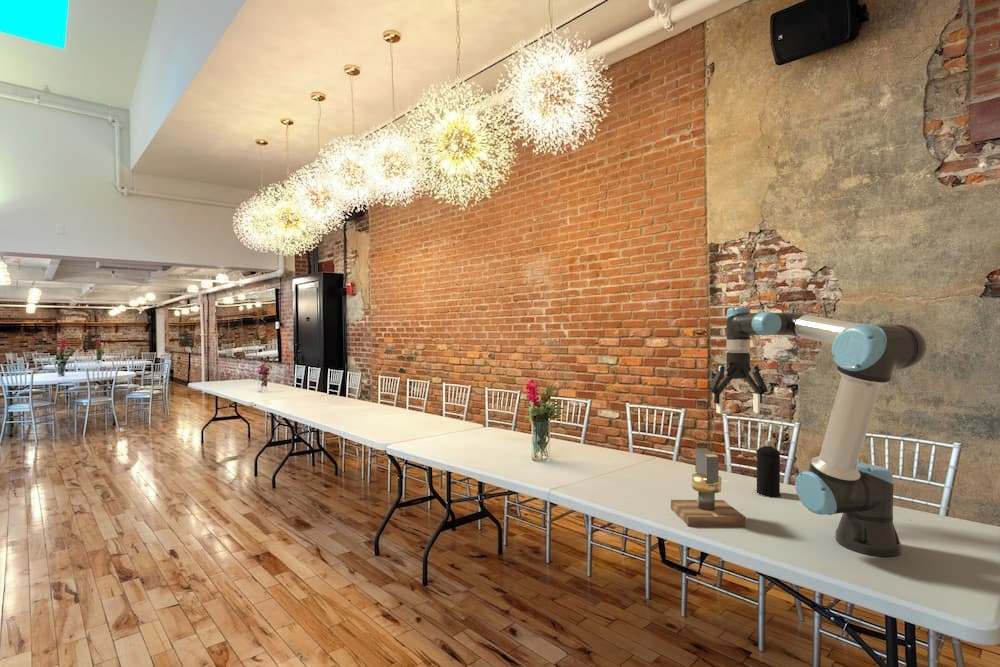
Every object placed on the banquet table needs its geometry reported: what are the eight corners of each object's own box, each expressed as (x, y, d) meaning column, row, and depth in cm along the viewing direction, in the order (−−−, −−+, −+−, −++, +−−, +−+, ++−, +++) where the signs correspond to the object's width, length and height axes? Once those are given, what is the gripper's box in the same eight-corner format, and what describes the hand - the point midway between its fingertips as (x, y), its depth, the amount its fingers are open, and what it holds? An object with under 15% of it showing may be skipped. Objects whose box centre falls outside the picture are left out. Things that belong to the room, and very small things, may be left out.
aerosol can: (779, 498, 185) (780, 444, 185) (754, 495, 190) (754, 441, 189) (781, 492, 192) (781, 440, 192) (756, 489, 197) (757, 437, 196)
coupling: (714, 483, 172) (714, 447, 172) (727, 495, 160) (727, 456, 160) (687, 483, 173) (687, 447, 173) (697, 494, 161) (698, 455, 161)
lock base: (745, 526, 159) (745, 497, 159) (688, 526, 159) (688, 497, 159) (723, 508, 175) (723, 482, 175) (670, 508, 175) (670, 482, 175)
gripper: (709, 352, 172) (709, 415, 172) (779, 352, 174) (778, 414, 174) (698, 351, 179) (698, 411, 179) (765, 351, 181) (765, 410, 182)
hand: (738, 412), depth 177 cm, fingers open, 13 cm apart
